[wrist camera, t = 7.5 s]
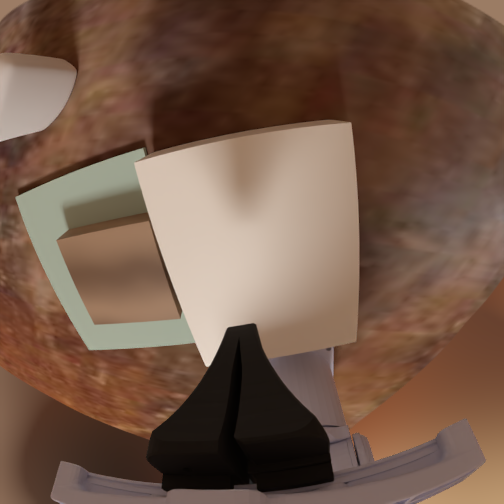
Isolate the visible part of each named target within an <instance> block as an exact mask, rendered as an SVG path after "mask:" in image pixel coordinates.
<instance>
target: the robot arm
mask: <svg viewBox="0 0 504 504" xmlns="http://www.w3.org/2000/svg"><path fill="white" fill-rule="evenodd" d="M333 369H334V347H330V348H325V349H320V350H315V351H310V352H305V353H299V354H294V355H288V356H282V357H276V358H270V359H268V358H267V356H266V354H265V352H264V350H263V348H262V344H261V340H260V337H259V333H258V329H257V325H256V324H254V323H251V324H245V325H239V326H233V327H228V328H227V329H226V332H225V334H224V337H223V339H222V342H221V344H220V346H219V349H218V351H217V353H216V355H215V357H214V359H213V361H212V363H211V365H210V366H209V368H208V370H207V372H206V373H205V375H204V377H203V378H202V380H201V381H200V383H199V384H198V386H197V387H196V388H195V390H194V391H193V392H192V394H191V395H190V396H189V397H188V399H187V400H186V401H185V402H184V403H183V404H182V406H181V407H180V408H179V409H178V410H177V411H176V412H175V413H174V414H173V415H172V416H171V417H169V418H168V419H167V420H166V421H165V422H164V423H162V424H161V425H160V426H159V427H157V428H156V429H155V430H153V431H152V435H151V437H150V441H149V446H148V451H147V456H146V458H147V461H148V462H149V463H150V464H151V465H152V466H154V467H155V468H156V469H157V470H159V471H160V472H161V473H163V479H162V484H158V483H148V482H140V481H133V480H125V479H120V478H114V477H108V476H103V475H98V474H94V473H89V472H87V471H86V470H85V469H84V468H82V467H80V466H78V465H75V464H72V463H68V462H64V461H61V463H60V466H59V469H58V472H57V476H56V479H55V483H54V486H53V490H52V493H51V499H53V500H55V501H57V502H59V503H60V504H416V503H419V502H421V501H423V500H425V499H428V498H430V497H432V496H434V495H436V494H438V493H440V492H442V491H444V490H446V489H448V488H450V487H452V486H454V485H456V484H458V483H460V482H461V481H463V480H465V479H466V478H467V477H468V476H470V475H471V474H472V473H473V472H475V471H476V470H477V469H478V468H479V467H480V466H482V465H483V464H484V463H485V461H486V459H485V457H484V455H483V453H482V450H481V448H480V446H479V444H478V442H477V439H476V437H475V435H474V434H473V431H472V429H471V427H470V425H469V423H468V421H467V419H463V420H461V421H459V422H457V423H455V424H453V425H451V426H448V427H447V428H445V429H443V430H442V431H440V432H439V433H438V435H437V437H436V439H433V440H431V441H429V442H426V443H424V444H422V445H419V446H416V447H414V448H412V449H409V450H406V451H403V452H401V453H398V454H395V455H392V456H389V457H387V458H383V459H380V460H377V461H374V458H373V455H372V452H371V448H370V445H369V442H368V440H367V438H366V437H365V436H363V435H360V434H359V433H355V434H353V435H352V436H353V441H354V447H353V443H352V440H351V436H350V432H349V428H348V425H346V422H345V418H344V415H343V411H342V407H341V404H340V400H339V397H338V393H337V389H336V386H335V382H334V379H333ZM354 448H355V451H354ZM355 453H356V455H355Z"/></svg>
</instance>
